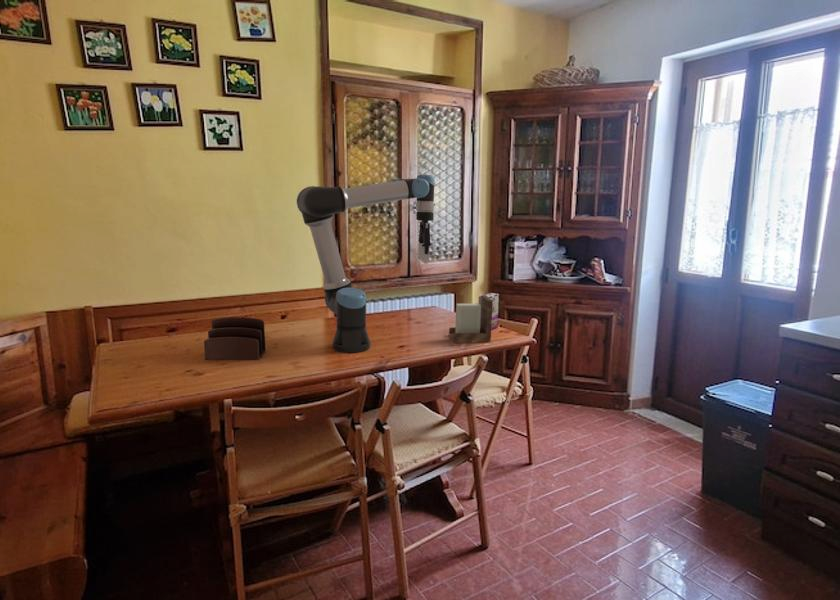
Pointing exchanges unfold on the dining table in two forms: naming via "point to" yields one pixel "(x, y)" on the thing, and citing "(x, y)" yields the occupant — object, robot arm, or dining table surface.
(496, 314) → the candy bar box
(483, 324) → the track
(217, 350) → the letter holder
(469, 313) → the door panel
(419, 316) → the dining table surface
